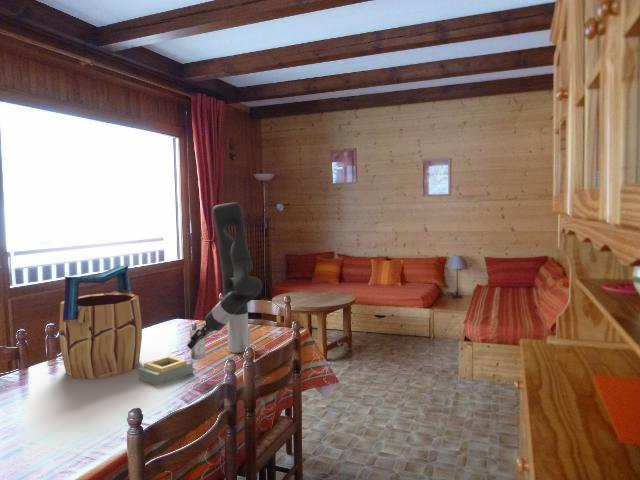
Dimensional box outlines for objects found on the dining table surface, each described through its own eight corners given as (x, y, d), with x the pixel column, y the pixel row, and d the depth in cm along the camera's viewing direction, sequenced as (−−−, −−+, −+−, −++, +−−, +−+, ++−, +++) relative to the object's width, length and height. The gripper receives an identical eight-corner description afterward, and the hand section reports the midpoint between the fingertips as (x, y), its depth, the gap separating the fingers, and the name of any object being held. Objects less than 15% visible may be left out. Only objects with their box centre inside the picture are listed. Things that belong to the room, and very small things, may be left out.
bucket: (97, 352, 213) (93, 264, 211) (161, 354, 209) (157, 265, 206) (33, 383, 175) (27, 277, 172) (109, 387, 170) (104, 278, 168)
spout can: (199, 354, 181) (197, 320, 180) (208, 356, 178) (206, 321, 177) (188, 357, 177) (186, 323, 175) (197, 360, 174) (195, 325, 172)
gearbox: (182, 364, 194) (181, 351, 194) (200, 370, 187) (200, 356, 187) (138, 378, 178) (137, 364, 178) (157, 385, 171) (156, 370, 171)
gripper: (223, 303, 180) (196, 332, 185) (203, 312, 166) (175, 343, 171) (236, 318, 179) (209, 346, 184) (217, 328, 165) (189, 358, 170)
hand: (193, 344), depth 177 cm, fingers closed on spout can, 5 cm apart
